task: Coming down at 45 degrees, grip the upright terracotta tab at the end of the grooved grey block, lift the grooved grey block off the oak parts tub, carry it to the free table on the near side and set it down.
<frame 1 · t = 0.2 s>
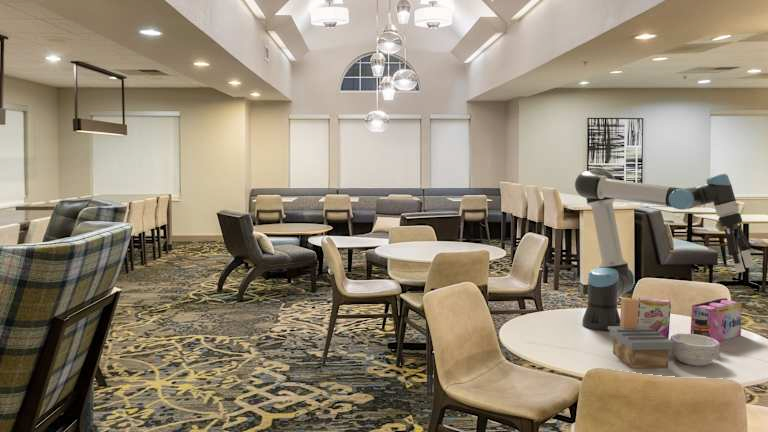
hand: (745, 269, 239), 28 cm above the table, tool tilted 20°, fingers open, 13 cm apart
paper bowls: (693, 362, 219), on the table
gum box: (715, 338, 248), on the table
tub: (639, 360, 220), on the table
grooved grey block: (640, 337, 219), point 8 cm above the table, touching tub
candy bar box: (652, 343, 241), on the table
supplement bottle: (699, 349, 233), on the table
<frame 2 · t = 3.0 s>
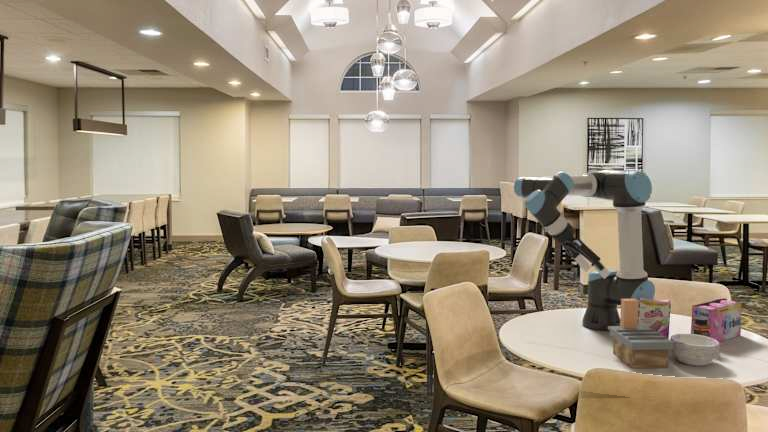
hand: (597, 272, 224), 29 cm above the table, tool tilted 45°, fingers open, 13 cm apart
candy bar box: (652, 343, 241), on the table, touching arm
everything else where it was.
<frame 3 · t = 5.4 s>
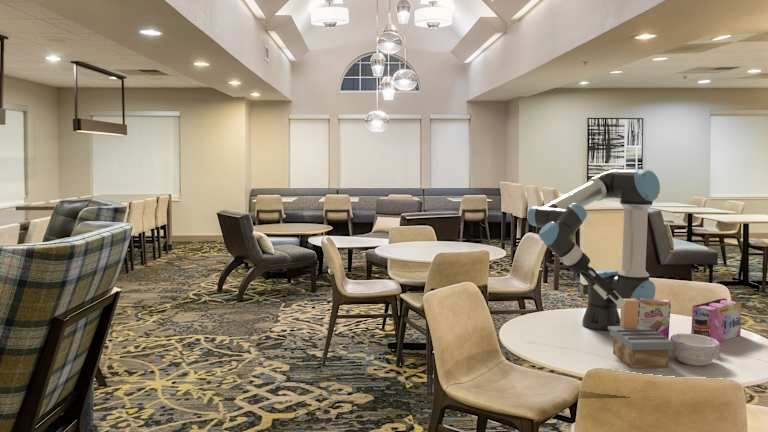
hand: (615, 300, 227), 19 cm above the table, tool tilted 45°, fingers open, 13 cm apart
candy bar box: (652, 343, 241), on the table
everything else where it was.
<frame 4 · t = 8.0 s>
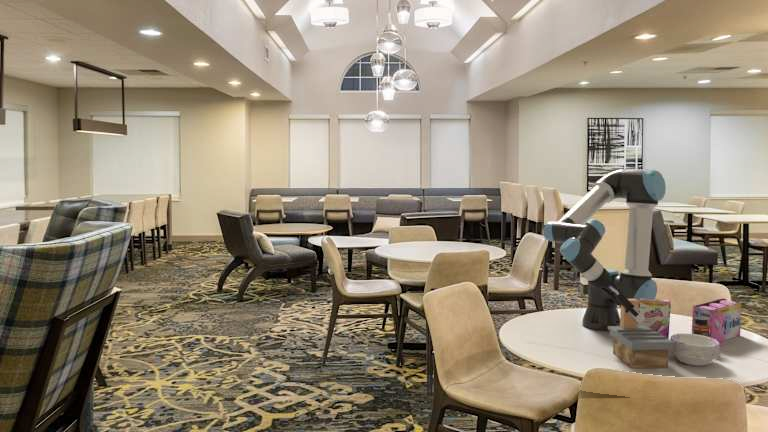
hand: (639, 319, 229), 12 cm above the table, tool tilted 45°, fingers closed on grooved grey block, 3 cm apart
grooved grey block: (640, 337, 219), point 8 cm above the table, touching gripper, tub
everything else where it was.
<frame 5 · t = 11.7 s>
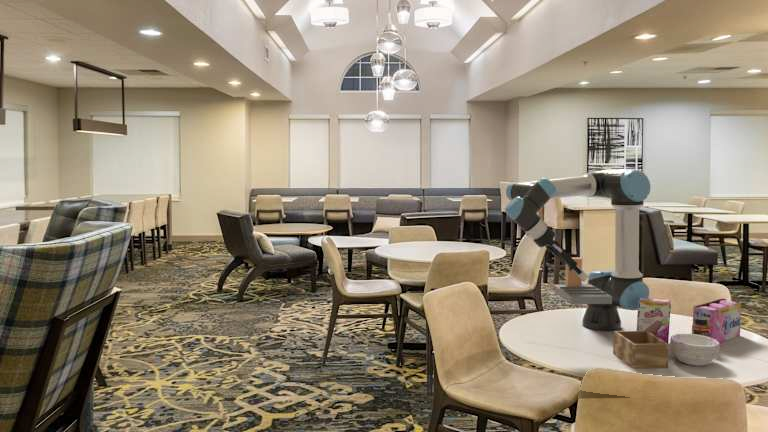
hand: (583, 278, 233), 26 cm above the table, tool tilted 45°, fingers closed on grooved grey block, 3 cm apart
grooved grey block: (582, 293, 224), point 22 cm above the table, touching gripper
when the fingers open (7 cm above the table, at t = 15.2 s): grooved grey block drops 2 cm, point 1 cm above the table.
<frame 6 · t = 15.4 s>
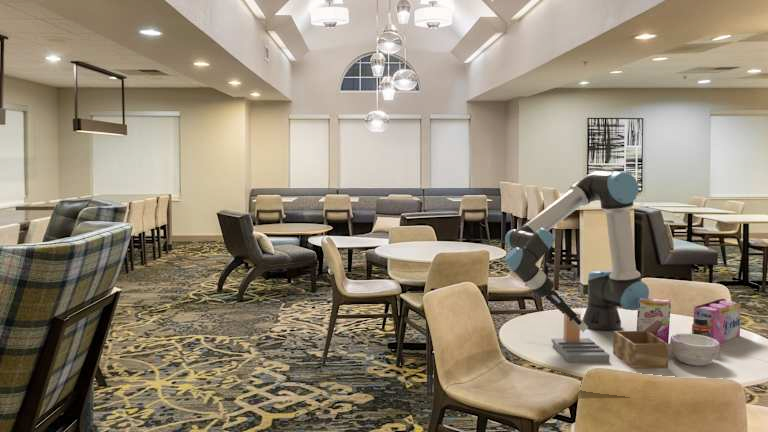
hand: (581, 326, 235), 7 cm above the table, tool tilted 45°, fingers open, 6 cm apart
grooved grey block: (580, 350, 226), point 1 cm above the table
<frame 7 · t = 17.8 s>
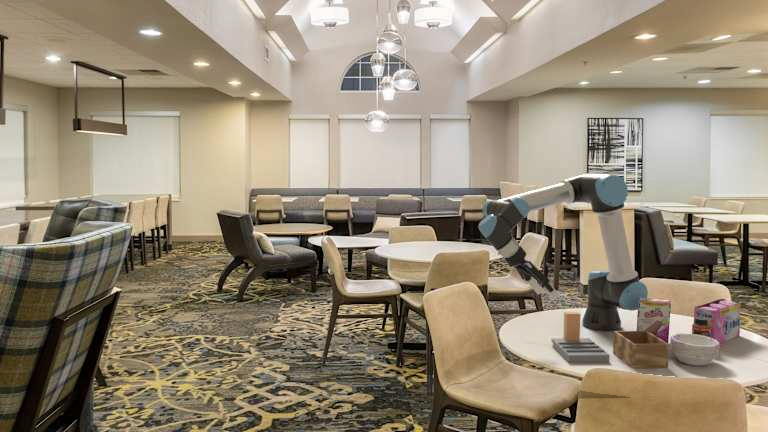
hand: (548, 294, 233), 19 cm above the table, tool tilted 40°, fingers open, 13 cm apart
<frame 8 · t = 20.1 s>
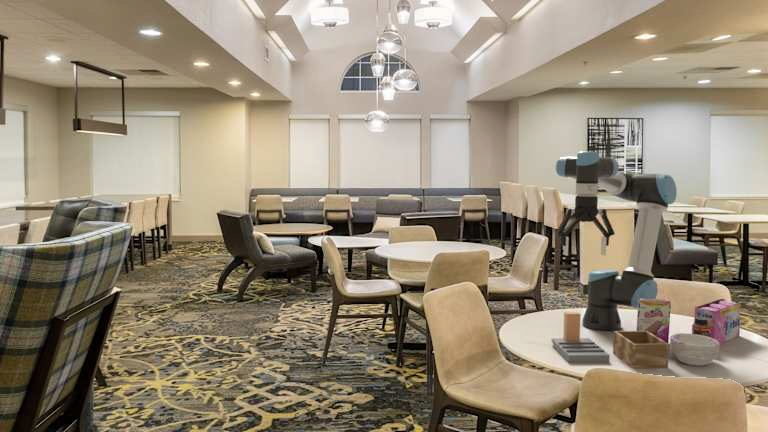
hand: (584, 255, 228), 35 cm above the table, tool pointing down, fingers open, 13 cm apart
at the end: grooved grey block inside the target area (0.9 cm from its centre), point 1.5 cm above the table; grooved grey block touching table; the gripper is holding nothing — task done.
